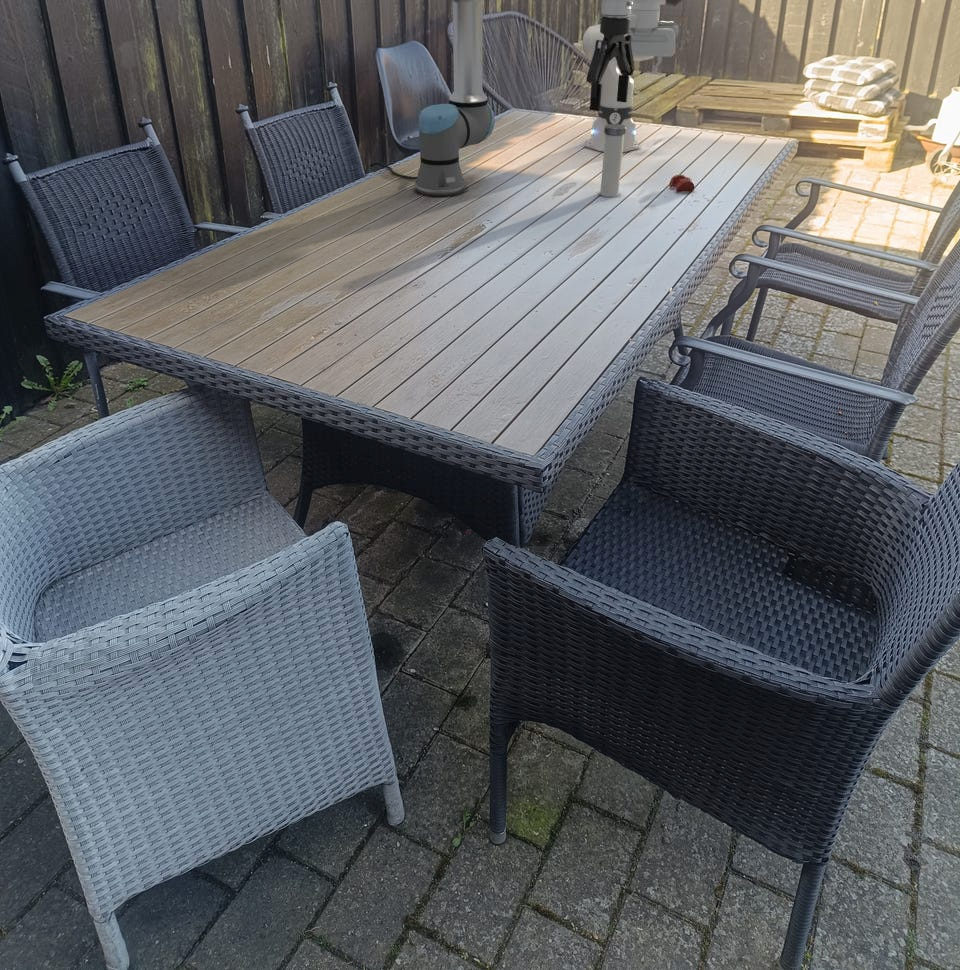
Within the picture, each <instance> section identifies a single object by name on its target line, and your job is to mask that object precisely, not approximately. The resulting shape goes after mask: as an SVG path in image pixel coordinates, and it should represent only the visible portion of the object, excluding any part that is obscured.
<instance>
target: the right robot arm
mask: <svg viewBox="0 0 960 970" xmlns="http://www.w3.org/2000/svg"><path fill="white" fill-rule="evenodd" d="M681 2H683V0H632V6H631V14H630V15H628V17H630V30H629V33H628V34H627V35H631V46H632V53H633V60H634V62H643V61H647V60H653V59H654V58H655V57H656V59H657V62H656V63H655V65H652V67H651V73H652V74H657V73H658V69H659V68H658V67H660V64H661V63H662V61H663V57H667V58H671V57H673V56H674V55H675V54H676V39H677V37H678V36H679V32H680V31H679V30H680V26H679V24H678V23H677V22H675V21H674V20H670V21H666V20H660V17H661V16H660V14H661V6H671V7H676V6H678V5H679V4H680V3H681ZM603 38H604V35H603V34H602V33H601V32H600V23H599V24H594V25H590V26H589V27H588V28H587V29H586V30H585V32H584V34H583V37H582V41H581V43H582V44H581V45H582V50H583V53H584V55H585V56H586V57H587V59H589V60H590V62H591V61H592V58H593V54H594V51H595V45H596V40H603ZM619 75H622V74H621V72H620V69H619V66H618V63H617V61H616V58H615V57H614V58H612V60H610V61H609V63H608V66H607V68H606V70H605V72H604V75H603V77H602V79H601V82H600V84H602V90H601V103H600V111H597V118H596V119H595V120H594V121H593V123H592V125H591V133H590V134H591V138H590V139H589V140H588V141H587V142H586V143H585V147H586V148H588V149H592V150H596V151H597V152H603V153H604V142H605V133H604V128H605V125H608V124H620V125H624V126H626V133H625V134H624V141H623V152H622V153H626V152H630V151H633V150H635V151H636V150H640V145H639V144H638V142H637V141H636V140H635V139H636V128H637V127H636V125H637V124H636V122H635V121H634V120H633V116H634V115H633V114H634V104H633V100H634V90H635V82H634V79H633V77H632V76H630V75H629V82H628V93H627V102H618V101H617V92H618V80H619Z"/></svg>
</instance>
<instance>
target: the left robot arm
mask: <svg viewBox="0 0 960 970" xmlns="http://www.w3.org/2000/svg"><path fill="white" fill-rule="evenodd" d="M483 1H484V0H451V3H452V4H451V5H452V54H453V58H452V59H453V60H452V61H453V92H452V94H451V95H450V96H449V97H448V103H438V104H431V105H428V106H426V107H424V108H423V109H422V110H421V111H420V112H419V114H418V115H419V116H418V126H417V127H418V137H419V138H418V139H419V157H420V158H419V159H420V161H419V162H420V164H419V168H418V172H417V176H409V175H404V174H400V173H398V172H395V171H394V170H393V168H392V167H391V166H389V165H387V164H384V163H382V162H378V161H375V162H372V163H371V164H369V167H374V166H375V165H376V166H381V167H383V168H386V169H388V170H390V173H391V174H392V175H394V176H395V177H400V178H403V179H407V180H408V179H409V180H415V183H414V184H415V185H414V186H415V192H417V193H418V194H420V195H424V196H430V197H450V196H455V195H459V194H461V193H463V192H464V191H466V181H465V179H464V176H463V172H462V169H461V165H460V149H463V148H467V147H470V146H474V145H475V146H476V145H479V144H480V143H482V142H484V141H486V140H487V139H488V138H489V137H490V136H491V135H492V133H493V131H494V128H495V123H496V117H495V113H494V110H492V106H491V105H490V104H489V103H488V96H487V95H486V94H485V93H484V91H483V16H484V15H483V14H484V13H483V8H484V7H483V3H484V2H483ZM631 6H632V0H601V8H600V9H601V10H600V14H601V18H600V23H599V24H600V32H601V33H602V34H603V35H604V38H603V40H596V45H595V51H594V54H593V58H592V61H591V60H590V65H589V67H588V71H587V75H586V78H585V79H586V82H587V83H588V84H590V99H589V100H590V101H589V111H594V112H595V111H596V112H598V111H600V103H601V90H602V84H601V79H602V77H603V75H604V72H605V70H606V68H607V66H608V63H609V61H610V60H612V58H614V57H615V58H616V61H617V67H618V68H619V69H620V72H621V74H622V75H619V80H618V92H617V101H618V102H627V93H628V82H629V76H631V77H632V76H634V72H635V70H636V69H635V61H634V60H633V53H632V46H631V35H627V34H628V33H629V30H630V17H628V15H630V14H631Z"/></svg>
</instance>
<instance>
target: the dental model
mask: <svg viewBox="0 0 960 970" xmlns="http://www.w3.org/2000/svg"><path fill="white" fill-rule="evenodd" d="M668 186H669V188H675V192H676V193H689V192H694V190H695V184H694V182H693V180H692V178H690V177H687V176H685V175H684V174H676V175H674V176H672V177H671V178H670V180H669V185H668Z"/></svg>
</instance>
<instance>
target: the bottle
mask: <svg viewBox="0 0 960 970" xmlns="http://www.w3.org/2000/svg"><path fill="white" fill-rule="evenodd" d="M623 141H624V134H623V135H608V134H605V142H604V152H603V156H602V169H601V180H600V193H599V195H600V196H602V197H607V198H614V197H615V198H616V197H618V196H619V195H620V194H619V193H620V185H621V171H622V162H623V161H622V160H623V153H624V152H623Z"/></svg>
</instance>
